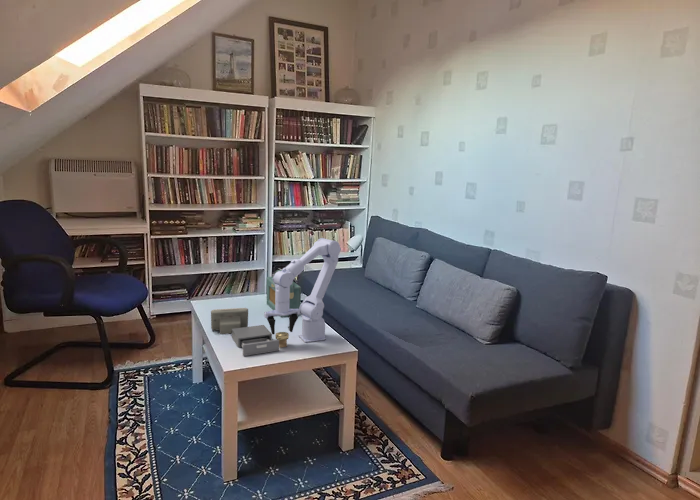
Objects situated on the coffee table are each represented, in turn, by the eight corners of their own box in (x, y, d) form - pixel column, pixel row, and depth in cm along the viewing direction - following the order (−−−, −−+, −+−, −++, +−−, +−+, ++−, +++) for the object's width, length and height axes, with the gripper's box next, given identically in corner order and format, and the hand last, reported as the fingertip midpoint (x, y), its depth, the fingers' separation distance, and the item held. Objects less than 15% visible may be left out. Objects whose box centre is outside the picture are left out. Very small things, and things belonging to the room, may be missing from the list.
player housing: (263, 333, 208) (263, 324, 207) (271, 343, 197) (271, 334, 196) (231, 337, 201) (231, 328, 201) (238, 347, 191) (238, 338, 190)
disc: (286, 334, 197) (286, 331, 197) (290, 339, 193) (290, 335, 192) (273, 336, 195) (273, 332, 195) (277, 341, 190) (277, 337, 190)
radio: (265, 303, 251) (265, 267, 247) (284, 301, 256) (285, 265, 252) (280, 318, 228) (280, 278, 225) (301, 315, 233) (301, 276, 230)
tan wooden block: (284, 344, 196) (284, 336, 196) (286, 346, 194) (286, 338, 193) (277, 345, 195) (277, 337, 194) (279, 347, 192) (279, 339, 192)
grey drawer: (270, 340, 200) (270, 330, 199) (279, 350, 189) (279, 340, 188) (236, 344, 193) (236, 334, 192) (243, 356, 182) (243, 345, 182)
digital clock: (249, 327, 215) (249, 305, 213) (246, 334, 206) (246, 311, 204) (213, 327, 213) (212, 304, 211) (209, 334, 204) (208, 311, 202)
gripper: (267, 305, 184) (267, 338, 187) (302, 301, 191) (302, 333, 193) (262, 300, 190) (262, 332, 193) (296, 297, 197) (296, 327, 199)
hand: (281, 332), depth 193 cm, fingers open, 7 cm apart
